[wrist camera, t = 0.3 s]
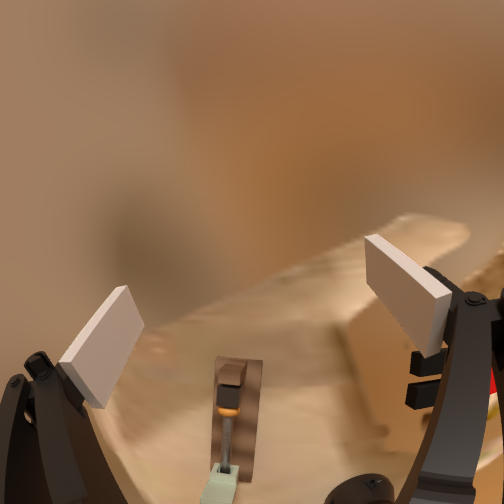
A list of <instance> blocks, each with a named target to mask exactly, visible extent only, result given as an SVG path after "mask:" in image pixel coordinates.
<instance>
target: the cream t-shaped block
mask: <svg viewBox="0 0 504 504" xmlns="http://www.w3.org/2000/svg"><path fill="white" fill-rule="evenodd" d="M238 476H239V466H236V465H231V466H230V474H224V473H220V463H215V464H214V466H213V468H212V471H211V473H210V480H208V482H207V484H206V487H205V489H204V491H203V493H202V495H201V497H200V504H233V501H234V497H235V493H236V490H237V485H238Z"/></svg>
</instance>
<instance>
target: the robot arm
mask: <svg viewBox="0 0 504 504" xmlns="http://www.w3.org/2000/svg"><path fill="white" fill-rule="evenodd" d="M364 240H365V256H366V280H367V284H368V285H369V286H370V288H371V289H372V290H373V291H374V292H375V294H376V295H377V296H378V297H379V299H380V300H381V301H382V302H383V304H384V305H385V306H386V307H387V309H388V310H389V311H390V313H392V315H393V316H394V317H395V319H396V320H397V322H398V323H399V324H400V326H401V327H402V328H403V329H404V331H405V332H406V333H407V335H408V336H409V337H410V339H411V340H412V342H413V343H414V344H415V346H416V347H417V348H418V350H419V351H420V352H421V354H422V355H423V357H424V358H427V357H430V356H432V355H434V354H437V353H439V352H440V350H441V346H442V342H443V341H444V342H445V343H446V344H447V345H448V348H447V352H446V355H445V359H444V362H443V365H442V366H444V367H443V372H442V377H441V381H440V385H439V389H438V393H437V397H436V401H435V404H434V408H433V411H432V414H431V418H430V421H429V424H428V427H427V430H426V433H425V436H424V439H423V441H422V444H421V447H420V449H419V452H418V454H417V457H416V459H415V461H414V464H413V466H412V468H411V471H410V473H409V475H408V477H407V479H406V482H405V484H404V486H403V488H402V490H401V492H400V494H399V496H398V497H397V499H396V501H395V498H394V488H393V485H392V484H391V482H390V481H389V479H388V478H386V477H385V476H383V475H380V474H364V475H360V476H356V477H353V478H351V479H349V480H347V481H345V482H343V483H341V484H340V485H339V486H337V487H336V488H335V489H334V490H333V491H332V492H331V493H330V494H329V495H328V497H327V499H326V501H325V504H473V503H474V500H475V495H476V494H475V493H476V489H475V488H474V487H473V486H472V483H473V478H474V475H475V471H476V468H477V464H478V460H479V456H480V452H481V447H482V442H483V437H484V432H485V426H486V420H487V413H488V405H489V396H490V384H491V367H492V371H493V375H494V380H495V385H496V390H497V396H498V402H499V408H500V416H501V423H502V435H503V452H504V288H503V289H502V292H501V296H500V298H499V299H493V300H488V298H487V297H485V296H484V295H483V294H481V293H478V292H474V291H472V292H465V293H464V292H463V291H462V290H461V289H459V288H458V287H457V286H456V285H454V284H453V283H452V282H451V281H449V280H447V278H446V277H444V276H442V274H440V273H439V272H438V271H436V270H435V269H432V268H429V267H427V266H425V267H421V266H419V265H418V264H417V263H416V262H414V261H413V260H412V259H410V258H409V257H408V256H406V255H405V254H404V253H402V252H401V251H400V250H398V249H397V248H396V247H394V246H393V245H392V244H390V243H389V242H388V241H386V240H385V239H383V238H382V237H381V236H379V235H378V234H374V235H370V236H365V237H364ZM143 328H144V323H143V321H142V319H141V317H140V315H139V312H138V310H137V308H136V305H135V303H134V301H133V298H132V296H131V294H130V291H129V289H128V286H121V287H116V288H115V290H114V291H113V292H112V293H111V294H110V296H109V297H108V298H107V299H106V300H105V302H104V303H103V304H102V305H101V307H100V308H99V309H98V310H97V312H96V313H95V314H94V315H93V317H92V318H91V319H90V320H89V322H88V323H87V324H86V325H85V327H84V328H83V329H82V331H81V332H80V333H79V335H78V336H77V337H76V339H75V340H74V341H73V342H72V344H71V345H70V347H69V348H68V349H67V350H66V352H65V353H64V355H63V356H62V357H61V359H60V360H59V361H58V363H57V364H56V366H55V367H54V365H53V364H52V362H51V361H50V359H49V358H48V356H47V355H46V353H45V352H43V351H39V352H37V353H34V354H33V355H31V356H30V357H29V358H28V359H27V360H26V362H25V364H24V367H25V368H26V370H27V371H28V373H29V374H30V376H31V377H32V378H33V380H34V381H30V382H28V380H27V379H26V377H25V376H24V375H23V374H17V375H14V376H13V377H11V378H10V380H9V382H8V383H7V385H6V389H5V391H4V394H3V397H2V401H1V404H0V504H128V503H127V501H126V499H125V498H124V496H123V494H122V492H121V490H120V488H119V486H118V484H117V483H116V481H115V478H114V476H113V474H112V472H111V470H110V468H109V466H108V464H107V462H106V459H105V457H104V455H103V453H102V450H101V448H100V445H99V443H98V441H97V438H96V435H95V433H94V430H93V427H92V425H91V422H90V419H89V416H88V413H87V410H86V409H85V407H84V406H83V405H82V403H83V401H84V399H85V400H86V401H87V402H88V403H89V405H90V406H91V407H92V408H99V409H105V407H106V405H107V402H108V400H109V398H110V396H111V393H112V391H113V389H114V387H115V385H116V383H117V380H118V378H119V376H120V374H121V372H122V370H123V368H124V366H125V364H126V362H127V360H128V357H129V355H130V353H131V351H132V349H133V347H134V345H135V343H136V341H137V339H138V337H139V335H140V333H141V332H142V330H143ZM24 412H25V413H26V414H27V415H28V416H29V417H30V418H31V423H29V422H28V421H27V420H26V418H25V415H24ZM502 504H504V483H503V498H502Z"/></svg>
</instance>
